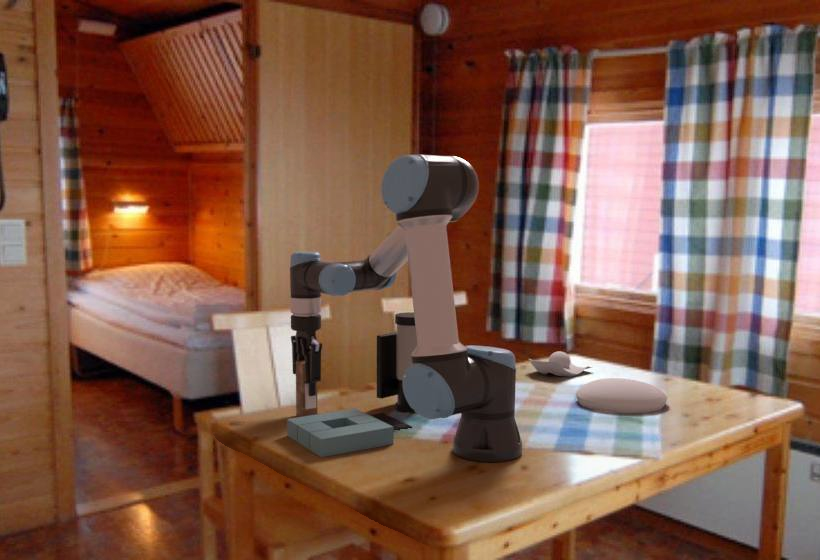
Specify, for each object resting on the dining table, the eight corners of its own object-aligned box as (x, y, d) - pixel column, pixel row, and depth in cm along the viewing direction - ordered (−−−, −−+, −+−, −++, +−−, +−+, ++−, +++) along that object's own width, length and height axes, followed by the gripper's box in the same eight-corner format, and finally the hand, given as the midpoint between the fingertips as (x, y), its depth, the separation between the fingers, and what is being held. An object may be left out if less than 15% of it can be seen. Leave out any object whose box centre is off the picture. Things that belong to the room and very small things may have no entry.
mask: (597, 373, 261) (562, 369, 273) (597, 349, 261) (561, 346, 273) (553, 381, 249) (518, 377, 261) (552, 356, 249) (517, 352, 261)
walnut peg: (317, 416, 211) (317, 362, 210) (302, 419, 209) (302, 363, 207) (310, 413, 215) (310, 359, 213) (296, 415, 212) (295, 360, 211)
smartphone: (356, 419, 211) (387, 434, 198) (356, 415, 211) (387, 430, 198) (382, 415, 215) (414, 429, 202) (382, 411, 215) (414, 425, 202)
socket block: (393, 444, 189) (393, 426, 189) (321, 457, 180) (320, 439, 179) (355, 424, 204) (355, 408, 204) (287, 435, 195) (286, 419, 195)
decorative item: (583, 392, 239) (569, 409, 220) (584, 368, 238) (570, 384, 220) (669, 400, 230) (662, 419, 212) (670, 376, 229) (663, 392, 211)
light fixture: (405, 416, 212) (406, 319, 209) (376, 407, 220) (376, 314, 217) (438, 407, 221) (439, 314, 218) (408, 399, 228) (409, 309, 226)
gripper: (335, 317, 204) (335, 411, 206) (305, 308, 218) (306, 396, 221) (306, 319, 200) (307, 415, 202) (278, 310, 214) (279, 400, 217)
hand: (306, 405), depth 211 cm, fingers closed on walnut peg, 4 cm apart
